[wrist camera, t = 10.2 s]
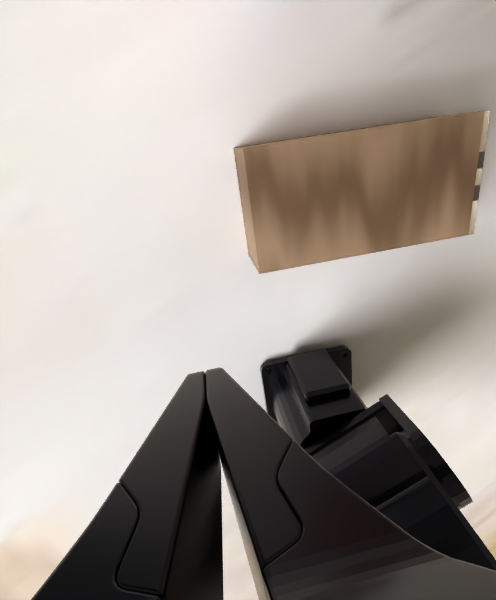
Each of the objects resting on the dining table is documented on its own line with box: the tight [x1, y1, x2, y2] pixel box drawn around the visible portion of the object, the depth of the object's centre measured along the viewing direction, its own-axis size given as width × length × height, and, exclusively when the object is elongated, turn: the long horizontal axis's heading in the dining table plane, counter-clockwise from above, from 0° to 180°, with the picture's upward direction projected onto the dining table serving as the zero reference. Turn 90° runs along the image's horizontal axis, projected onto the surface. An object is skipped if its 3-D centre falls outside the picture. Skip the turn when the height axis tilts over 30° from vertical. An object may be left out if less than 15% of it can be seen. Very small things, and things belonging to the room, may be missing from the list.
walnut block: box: [234, 110, 490, 274], centre depth 19 cm, size 6×4×12 cm
